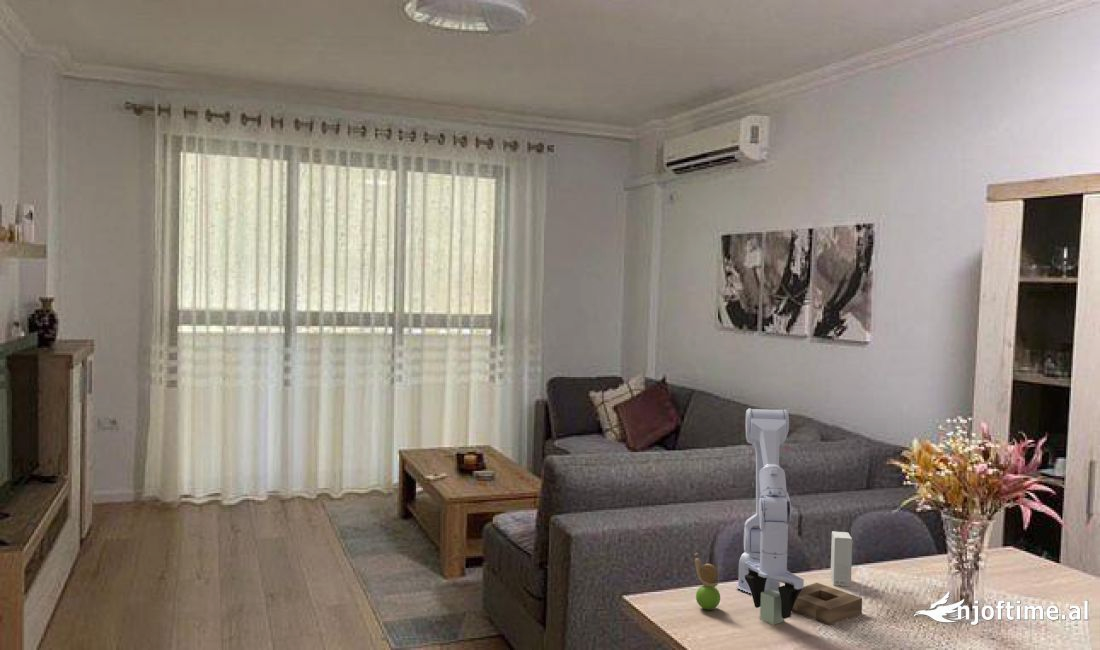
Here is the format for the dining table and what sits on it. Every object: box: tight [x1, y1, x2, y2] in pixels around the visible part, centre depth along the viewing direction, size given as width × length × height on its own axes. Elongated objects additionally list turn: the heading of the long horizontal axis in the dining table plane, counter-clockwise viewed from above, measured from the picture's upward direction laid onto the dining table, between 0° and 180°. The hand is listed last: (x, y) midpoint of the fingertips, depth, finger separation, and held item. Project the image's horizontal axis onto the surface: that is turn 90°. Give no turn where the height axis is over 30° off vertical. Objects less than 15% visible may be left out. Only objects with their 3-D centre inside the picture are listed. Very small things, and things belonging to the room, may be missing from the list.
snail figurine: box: [694, 552, 721, 611], centre depth 186 cm, size 5×6×12 cm
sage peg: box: [759, 589, 785, 625], centre depth 179 cm, size 4×4×6 cm
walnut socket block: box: [792, 582, 863, 626], centre depth 185 cm, size 12×12×4 cm
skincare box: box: [830, 530, 853, 587], centre depth 204 cm, size 6×4×12 cm
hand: (772, 611), depth 179 cm, fingers open, 7 cm apart
